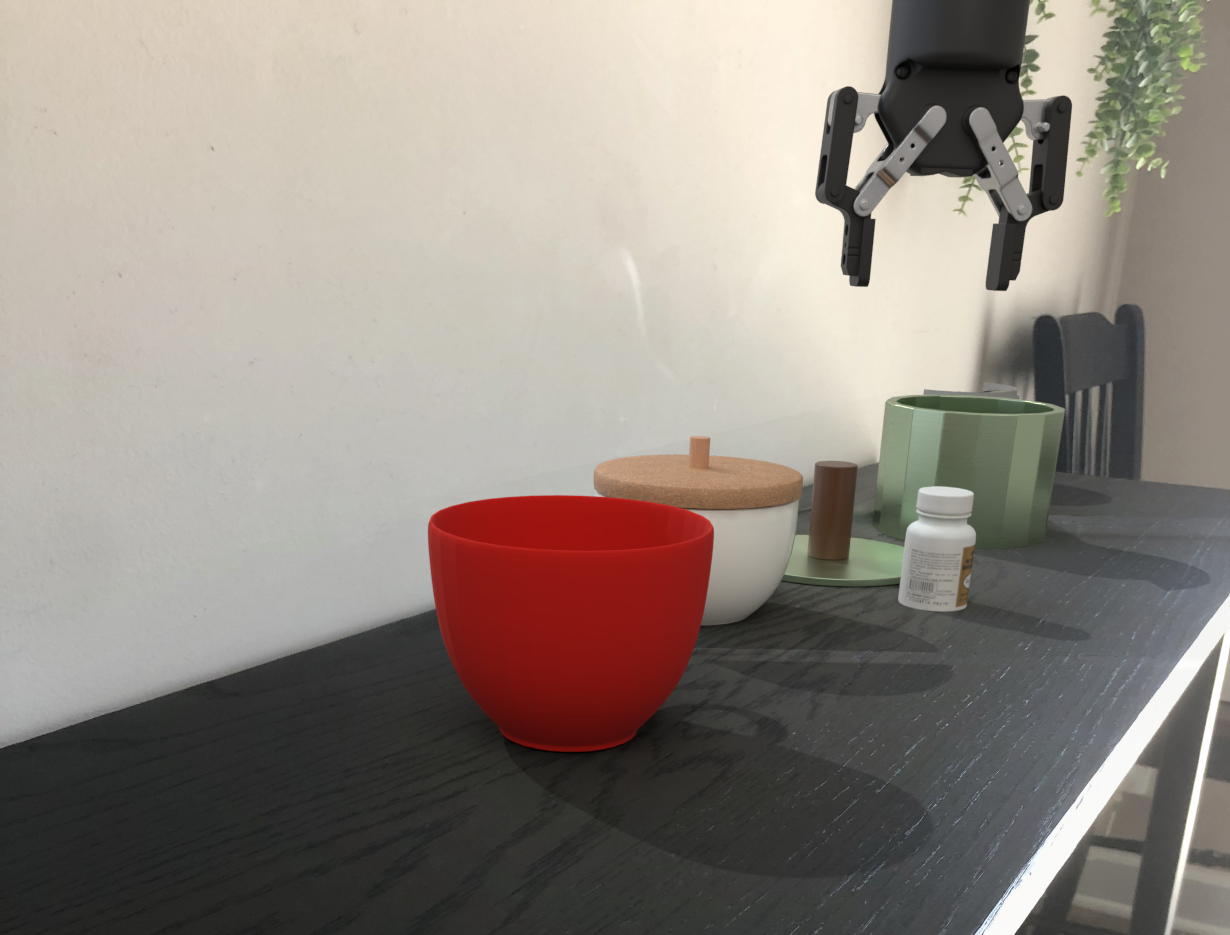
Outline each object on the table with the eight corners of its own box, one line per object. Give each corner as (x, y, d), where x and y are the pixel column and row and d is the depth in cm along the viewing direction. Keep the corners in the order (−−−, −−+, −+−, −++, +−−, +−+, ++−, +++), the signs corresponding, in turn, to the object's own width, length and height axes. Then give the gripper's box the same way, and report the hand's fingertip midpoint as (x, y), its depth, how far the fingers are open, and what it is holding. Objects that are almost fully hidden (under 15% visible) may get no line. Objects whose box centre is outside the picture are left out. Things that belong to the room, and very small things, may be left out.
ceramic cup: (736, 679, 72) (748, 492, 68) (672, 793, 57) (683, 562, 53) (508, 656, 75) (508, 475, 71) (390, 759, 60) (380, 537, 56)
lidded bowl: (799, 650, 78) (816, 456, 73) (584, 641, 78) (588, 448, 74) (783, 597, 89) (797, 426, 85) (596, 590, 90) (600, 420, 85)
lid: (903, 550, 104) (915, 450, 101) (951, 597, 90) (966, 483, 87) (717, 546, 103) (723, 446, 100) (737, 593, 90) (745, 478, 87)
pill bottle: (975, 619, 85) (992, 497, 82) (907, 619, 85) (922, 496, 82) (953, 602, 89) (969, 485, 86) (889, 602, 89) (902, 484, 86)
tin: (1014, 522, 116) (1032, 396, 111) (1066, 557, 103) (1089, 417, 99) (858, 519, 115) (871, 392, 111) (892, 553, 103) (908, 412, 99)
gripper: (855, -46, 70) (827, 288, 76) (1116, -33, 71) (1066, 294, 78) (821, -21, 76) (798, 283, 83) (1060, -10, 78) (1019, 289, 84)
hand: (928, 288), depth 80 cm, fingers open, 8 cm apart
